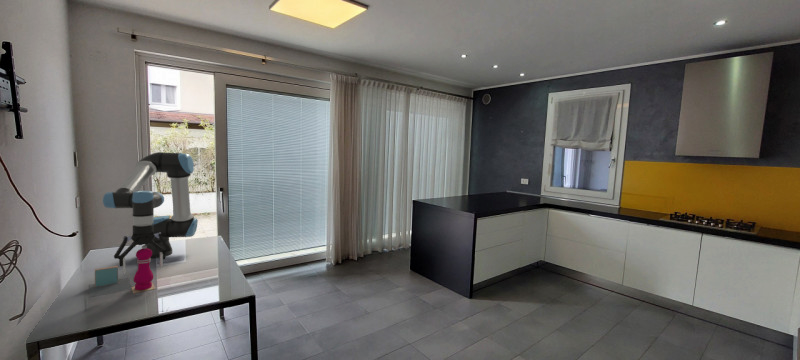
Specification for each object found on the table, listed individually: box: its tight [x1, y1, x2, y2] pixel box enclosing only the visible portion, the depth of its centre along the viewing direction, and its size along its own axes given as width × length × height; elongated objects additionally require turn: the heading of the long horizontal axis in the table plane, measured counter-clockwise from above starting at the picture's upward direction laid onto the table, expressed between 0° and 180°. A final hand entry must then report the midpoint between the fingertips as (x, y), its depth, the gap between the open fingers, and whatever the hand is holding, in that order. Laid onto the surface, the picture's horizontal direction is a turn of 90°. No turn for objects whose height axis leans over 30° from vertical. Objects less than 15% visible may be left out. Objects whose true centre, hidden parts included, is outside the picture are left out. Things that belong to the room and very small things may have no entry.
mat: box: [88, 277, 132, 298], centre depth 149 cm, size 14×17×1 cm
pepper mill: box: [133, 244, 154, 290], centre depth 149 cm, size 7×7×20 cm
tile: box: [94, 265, 119, 287], centre depth 151 cm, size 8×2×8 cm, turn 135°
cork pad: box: [131, 282, 156, 294], centre depth 149 cm, size 8×8×1 cm
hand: (143, 269), depth 149 cm, fingers open, 13 cm apart
